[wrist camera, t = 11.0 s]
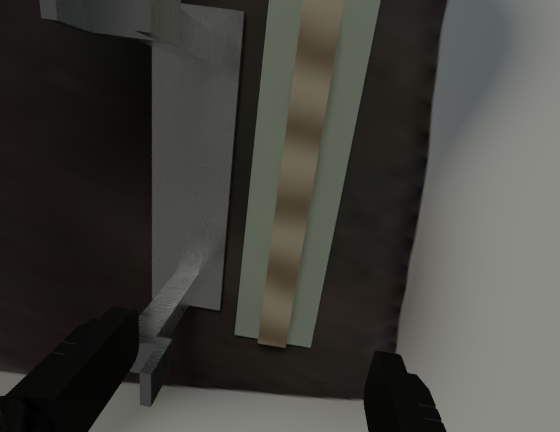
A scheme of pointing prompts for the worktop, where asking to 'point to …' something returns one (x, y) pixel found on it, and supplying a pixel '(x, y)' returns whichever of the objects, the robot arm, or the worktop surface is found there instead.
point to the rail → (299, 162)
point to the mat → (329, 168)
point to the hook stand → (178, 152)
